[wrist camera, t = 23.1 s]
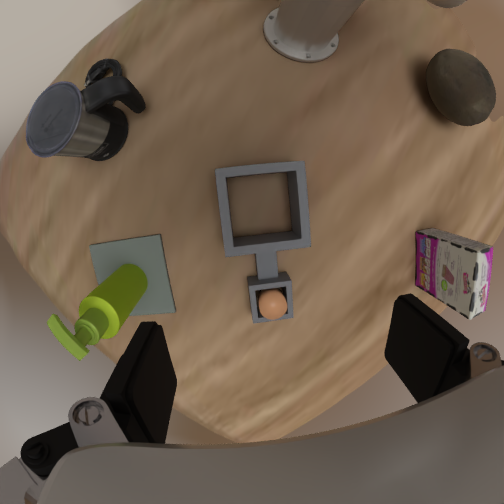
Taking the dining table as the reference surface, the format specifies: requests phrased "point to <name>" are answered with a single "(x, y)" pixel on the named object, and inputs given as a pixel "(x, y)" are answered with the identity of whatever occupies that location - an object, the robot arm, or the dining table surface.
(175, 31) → the dining table surface
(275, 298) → the tan ball
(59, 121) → the milk frother
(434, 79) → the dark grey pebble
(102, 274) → the mat
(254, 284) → the holder
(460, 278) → the candy bar box
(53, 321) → the soap dispenser
